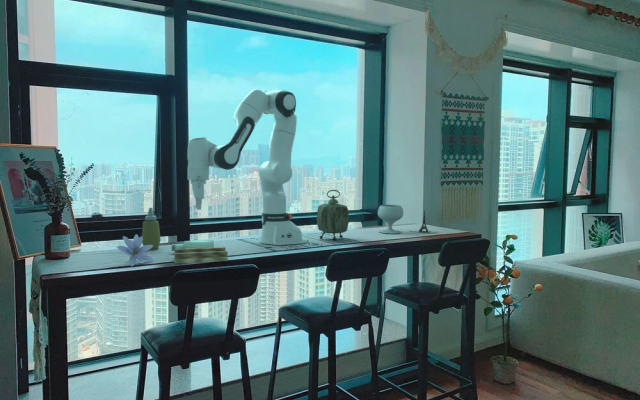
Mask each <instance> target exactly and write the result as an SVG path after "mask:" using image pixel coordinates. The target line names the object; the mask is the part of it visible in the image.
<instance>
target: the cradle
mask: <svg viewBox="0 0 640 400" xmlns="http://www.w3.org/2000/svg"><path fill="white" fill-rule="evenodd" d="M228 261H229V257H228V250H226V246H221V247H220V246H219V247H218V246H217V247H216V246H215V247H214V248H191V249H175V251H174V264H190V263H211V262H215V263H216V262H228Z"/></svg>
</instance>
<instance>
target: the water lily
mask: <svg viewBox="0 0 640 400" xmlns="http://www.w3.org/2000/svg"><path fill="white" fill-rule="evenodd" d="M122 239H123V242H124V244H125V245H126V246H125V245H118V246H116V249H118V251H120V252H122V253H124V254H126V255H127V256H130V257H129V261H128V262H129V265H130V266H131V267H134V266H135V265H136V263H137V261H138V262H140V263H141V264H143V263H145V261H147V262H151V263H153V262H155V260H154V259H153V257H152V256H149V255H148V253H147V251H149V250H152V249H151V248H152V247H153V245H145V246H143V243H142V241H143V238H142V235H141V236H139V235H138V234H135V235H134V237H133V239H129V238H128V237H127V236H125V235H123V236H122ZM141 245H142V246H141Z"/></svg>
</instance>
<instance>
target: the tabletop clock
mask: <svg viewBox="0 0 640 400" xmlns="http://www.w3.org/2000/svg"><path fill="white" fill-rule="evenodd" d="M331 192H337V193H338V195H337V196H335V195H334V194H333V195H332V196H329V193H331ZM326 196H327V197H328V198H330V199H329V200H328V202H327V203H322V204H320V205H318V208H317V212H316V224H317V225H316V226H317V229H318V231H320V232H322V234H321V235H320V236H319V239H320V240H323V238H324V235H326V234H333V237H332V240H333V241H336V240H337V237H336V234H339V239H343V235H342V233H345V232H347V231H348V228H349V223H350V222H349V221H350V215H349V213H350V212H349V209H348V207H347V205H343V204H341V203H339V200H338V199H337V198H339V197H340V196H341V193H340V191H339V190H338V189H329V190H328V191H327V193H326Z"/></svg>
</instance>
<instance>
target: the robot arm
mask: <svg viewBox="0 0 640 400" xmlns="http://www.w3.org/2000/svg"><path fill="white" fill-rule="evenodd" d="M296 100H297V99H296V96H295V94H294V93H293V92H291V91H289V90H286V89H283V90H280V89H275V90H270V91H267V90H266V91H264V90H263V89H261V88H260V89H259V88H255V89H254V88H253V89H252V90H251V91H250V92H248V94H247V95H246V96H244V98H243V99H242V100H241V101H240V103H239V104H238V106H237V107H236V109H235V110H234V114H233V121H234V123H235V124H236V130H235V131H234V133H233V134H232V136H231V138H230V140H229V141H228V142H227V143H225V144H224V145H219V144H217V143H214V142H213V141H211V140H210V139H208V137H206V136H201V137H194V138H191V139H190V140H188V145H187V162H188V164H187V180H188V181H190V184H191V187H192V195H193V197H194V199H195V207H196V210H198V211H200V210H202V202H203V201H202V200H204V199H205V185H206V184H207V181H209V180H210V167H211V168H214V169H215V168H216V169H222V170H227V171H228V170H232V169H234V168H236V167H237V166H238V164H239V162H240V159H241V154H242V152H243V149H244V147H245V146H246V144H247V142H248V140H249V139H250V137H251V135H252V133H253V131H254V130H255V127H256V125H257V124H258V122H259V121H260V120H261V118H262V117H263V116H264V114H265V115H272V116H273V118H274V123H273V127H272V130H271V134H270V139H269V143H268V150H269V157H268V158H269V160H268V161H267V160H266V161H264V162H262V164H261V165H260V166H259V167H258V171H257V173H258V176H259V180H260V187H261V193H262V213H261V224H262V228H261V235H260V238H259V242H260V243H261V244H265V245H274V246H284V245H298V244H306V243H307V239H306V238H305V237H303V235H302V229H301V228H300V227H299V226H297V225H296V223H294V222H292V221H291V219H293V217H294V216H293V215H292V214H291V213H290V214H289V213H288V212H287V196H286V193H285V190H284V184H286V183H288V182H289V181H290V180H291V179H292V177H293V169H292V151H293V147H294V146H293V145H294V141H295V137H296V132H297V125H298V124H297V122H298V116H297V114H296V113H295V112H296V108H297V101H296Z"/></svg>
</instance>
